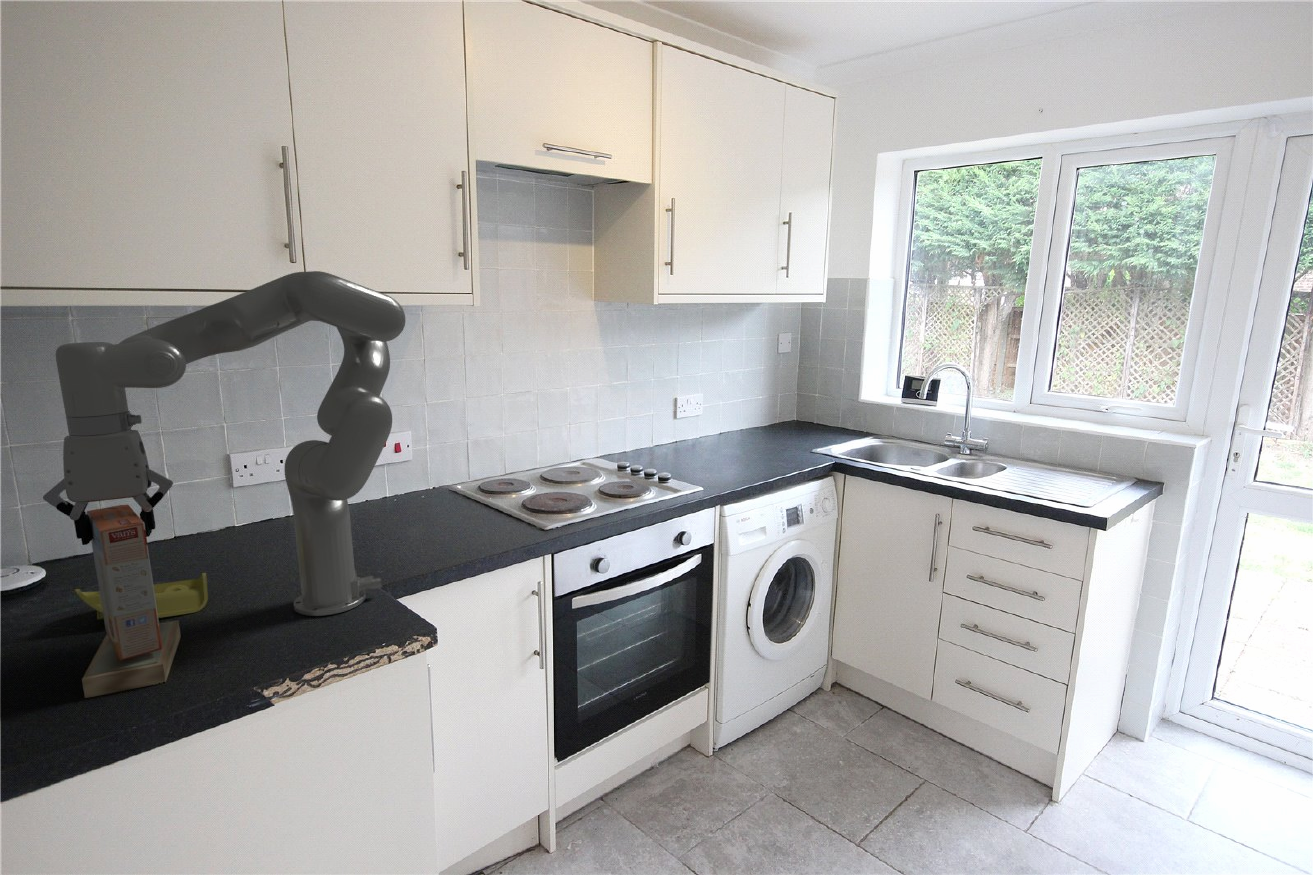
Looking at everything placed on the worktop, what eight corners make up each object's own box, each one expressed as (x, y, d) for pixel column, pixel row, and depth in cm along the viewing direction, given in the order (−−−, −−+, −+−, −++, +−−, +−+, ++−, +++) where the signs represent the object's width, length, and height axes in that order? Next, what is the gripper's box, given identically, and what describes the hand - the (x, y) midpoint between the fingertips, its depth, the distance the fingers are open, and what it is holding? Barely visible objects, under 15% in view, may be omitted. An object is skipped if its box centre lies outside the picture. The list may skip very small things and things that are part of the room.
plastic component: (203, 578, 147) (206, 571, 139) (205, 615, 145) (208, 610, 137) (78, 594, 135) (73, 587, 127) (79, 635, 134) (74, 630, 126)
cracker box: (166, 649, 113) (145, 520, 109) (118, 663, 109) (95, 530, 105) (149, 620, 123) (129, 501, 119) (105, 632, 119) (83, 509, 115)
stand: (180, 636, 127) (178, 619, 126) (165, 682, 112) (162, 663, 111) (110, 648, 122) (107, 631, 122) (85, 698, 107) (81, 678, 107)
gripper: (171, 416, 116) (187, 523, 120) (34, 426, 109) (54, 539, 112) (164, 424, 110) (181, 536, 113) (17, 435, 102) (40, 555, 106)
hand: (118, 537), depth 113 cm, fingers closed on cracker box, 7 cm apart
